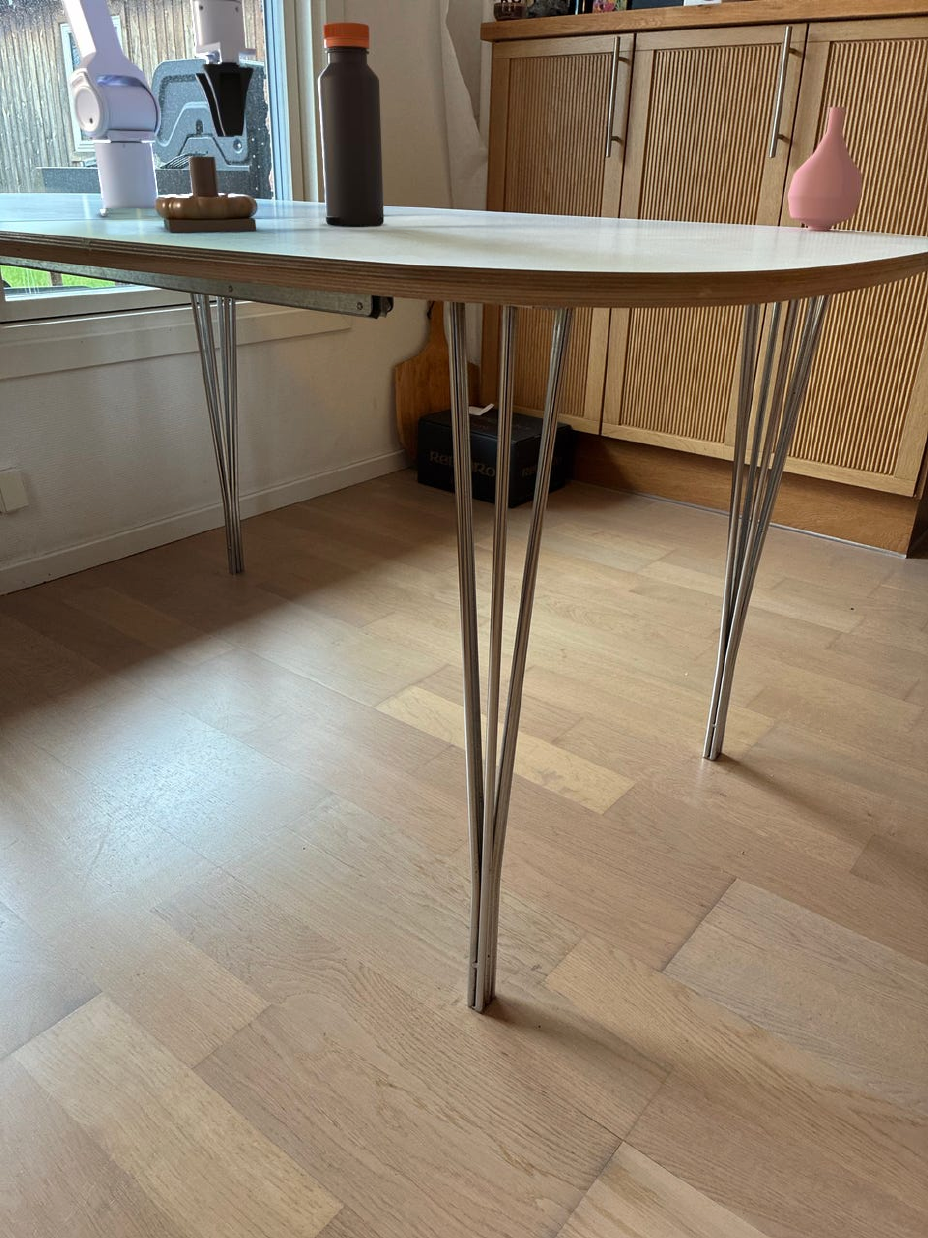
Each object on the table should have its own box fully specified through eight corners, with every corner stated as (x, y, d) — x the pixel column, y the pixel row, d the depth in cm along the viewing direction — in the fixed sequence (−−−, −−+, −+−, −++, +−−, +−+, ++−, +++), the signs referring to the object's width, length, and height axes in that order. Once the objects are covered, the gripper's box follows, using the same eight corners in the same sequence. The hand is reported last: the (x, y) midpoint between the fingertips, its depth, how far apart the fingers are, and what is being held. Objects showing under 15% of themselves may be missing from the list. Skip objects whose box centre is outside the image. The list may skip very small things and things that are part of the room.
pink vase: (827, 226, 109) (846, 109, 103) (870, 231, 102) (893, 105, 97) (769, 228, 107) (785, 108, 101) (809, 232, 100) (829, 104, 95)
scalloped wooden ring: (154, 215, 107) (152, 194, 106) (251, 213, 110) (249, 193, 109) (158, 220, 97) (155, 197, 96) (263, 218, 100) (261, 196, 99)
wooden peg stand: (164, 227, 106) (155, 156, 103) (245, 225, 109) (238, 156, 106) (170, 232, 99) (160, 156, 95) (256, 230, 101) (249, 156, 98)
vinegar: (323, 223, 113) (311, 27, 104) (379, 222, 114) (372, 29, 105) (329, 227, 107) (318, 19, 98) (388, 226, 108) (382, 22, 100)
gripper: (261, -5, 103) (272, 135, 109) (243, 13, 115) (254, 137, 121) (195, -8, 101) (210, 134, 107) (184, 10, 113) (197, 137, 119)
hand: (229, 136), depth 114 cm, fingers open, 7 cm apart
